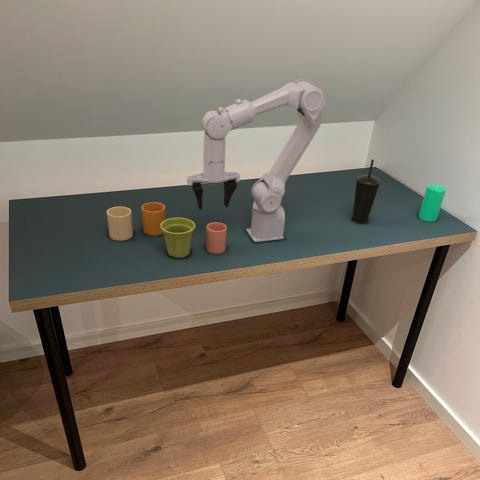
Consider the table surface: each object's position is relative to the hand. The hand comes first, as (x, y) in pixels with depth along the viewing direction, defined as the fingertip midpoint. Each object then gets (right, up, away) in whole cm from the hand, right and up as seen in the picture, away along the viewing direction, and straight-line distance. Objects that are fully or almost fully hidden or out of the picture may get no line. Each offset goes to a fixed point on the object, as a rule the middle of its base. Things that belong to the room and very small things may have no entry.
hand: (213, 206), depth 145 cm
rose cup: (+1, -12, +2) cm, 12 cm away
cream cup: (-27, -7, +6) cm, 29 cm away
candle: (+70, +2, +27) cm, 75 cm away
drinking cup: (+47, 0, +22) cm, 52 cm away
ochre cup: (-18, -5, +9) cm, 21 cm away
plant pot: (-10, -13, -1) cm, 17 cm away
